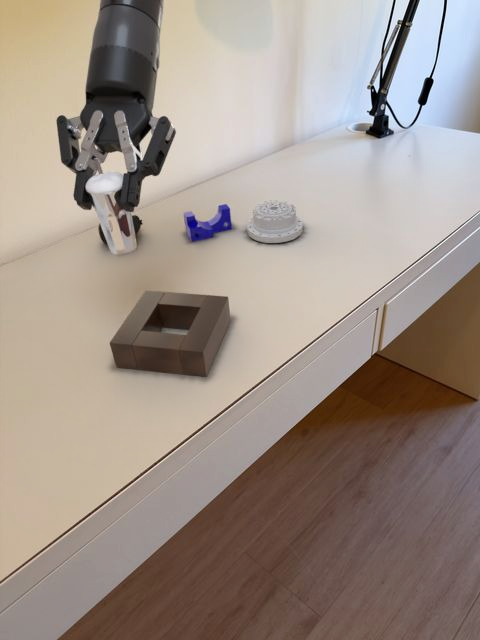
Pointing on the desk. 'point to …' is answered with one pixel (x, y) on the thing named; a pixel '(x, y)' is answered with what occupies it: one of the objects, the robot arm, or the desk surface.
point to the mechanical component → (274, 222)
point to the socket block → (166, 348)
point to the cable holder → (207, 224)
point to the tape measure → (136, 223)
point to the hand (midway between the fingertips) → (105, 207)
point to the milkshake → (111, 210)
